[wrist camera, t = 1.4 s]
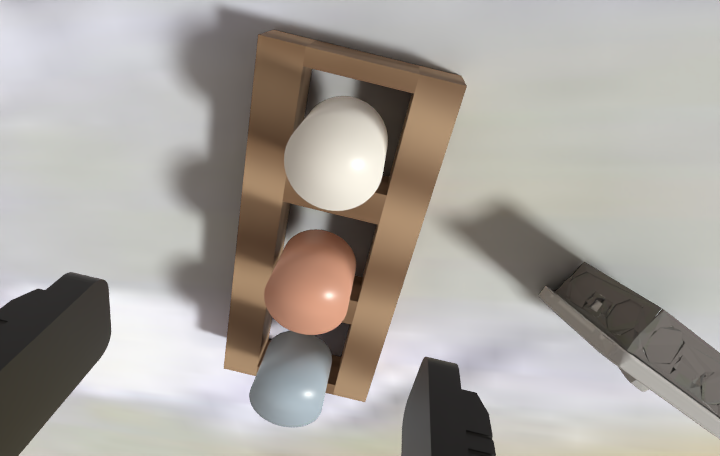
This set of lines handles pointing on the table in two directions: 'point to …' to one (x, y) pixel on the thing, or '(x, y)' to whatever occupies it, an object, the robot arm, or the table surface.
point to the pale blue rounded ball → (292, 380)
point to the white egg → (337, 154)
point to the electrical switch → (642, 342)
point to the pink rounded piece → (311, 283)
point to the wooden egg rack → (384, 208)
